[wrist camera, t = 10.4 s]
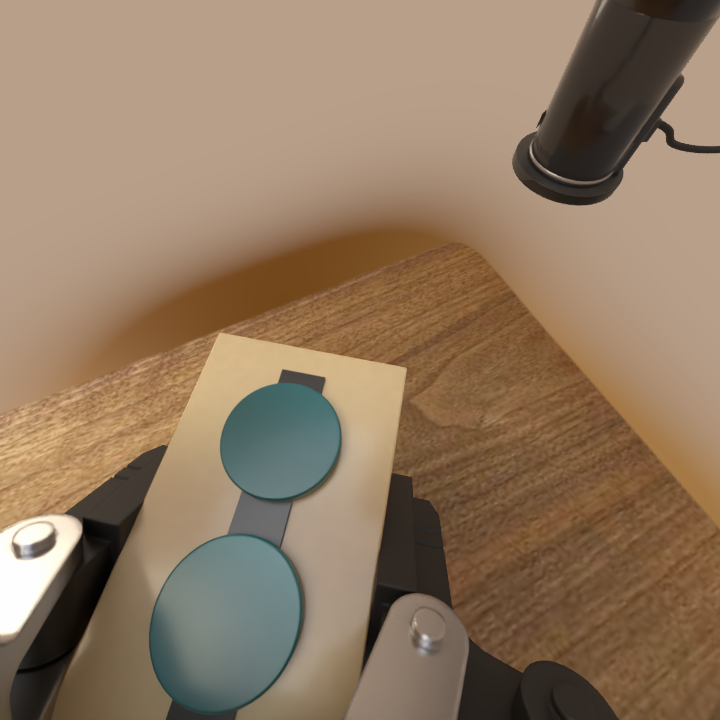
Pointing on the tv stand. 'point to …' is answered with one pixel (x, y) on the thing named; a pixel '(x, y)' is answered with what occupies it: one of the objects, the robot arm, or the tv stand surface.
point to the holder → (249, 547)
